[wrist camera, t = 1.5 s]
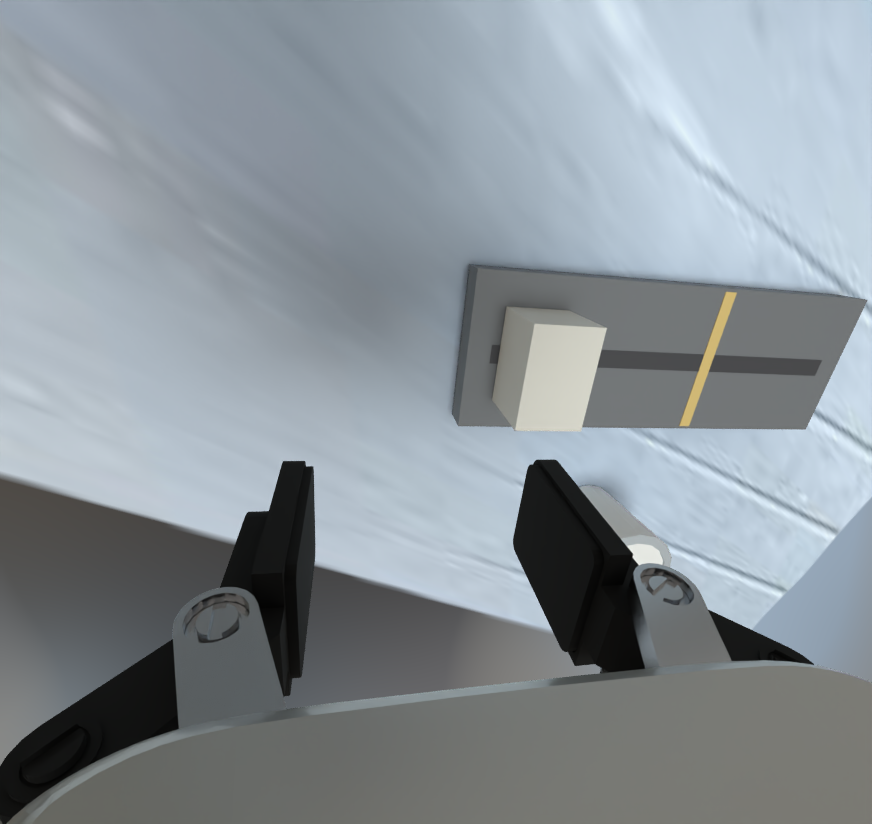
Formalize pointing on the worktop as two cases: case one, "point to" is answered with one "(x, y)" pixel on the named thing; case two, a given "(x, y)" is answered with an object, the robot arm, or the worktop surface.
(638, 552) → the white cylinder
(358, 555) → the worktop surface
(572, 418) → the fader knob
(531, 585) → the robot arm
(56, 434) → the worktop surface
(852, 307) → the fader track
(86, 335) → the worktop surface
